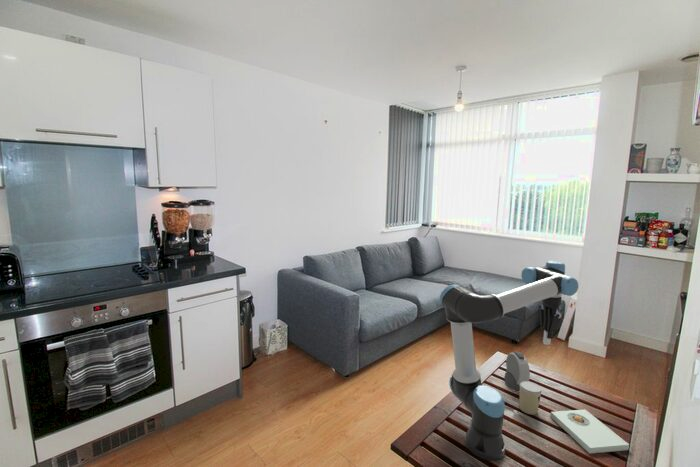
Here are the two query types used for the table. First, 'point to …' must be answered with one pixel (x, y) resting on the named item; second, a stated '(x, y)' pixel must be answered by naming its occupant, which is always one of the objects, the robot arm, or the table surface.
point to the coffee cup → (529, 397)
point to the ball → (578, 419)
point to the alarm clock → (516, 370)
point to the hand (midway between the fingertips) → (546, 343)
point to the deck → (589, 431)
